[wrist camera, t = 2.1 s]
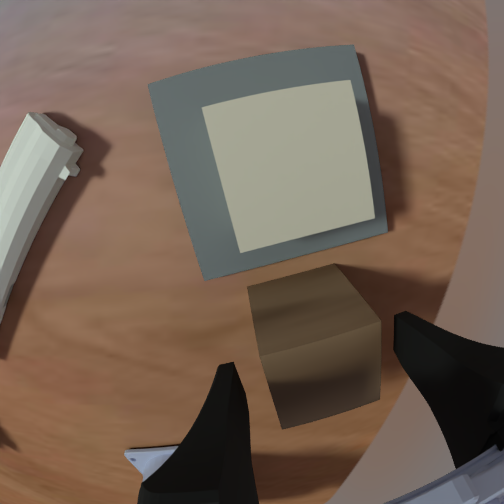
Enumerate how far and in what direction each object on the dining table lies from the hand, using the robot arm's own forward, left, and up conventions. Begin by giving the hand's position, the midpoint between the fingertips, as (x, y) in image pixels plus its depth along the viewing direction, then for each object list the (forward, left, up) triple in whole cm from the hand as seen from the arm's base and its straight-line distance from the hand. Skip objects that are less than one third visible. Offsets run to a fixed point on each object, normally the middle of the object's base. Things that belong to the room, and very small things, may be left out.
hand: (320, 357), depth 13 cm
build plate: (+8, 0, -4) cm, 9 cm away
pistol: (+9, +19, -5) cm, 22 cm away
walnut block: (0, 0, -4) cm, 4 cm away
